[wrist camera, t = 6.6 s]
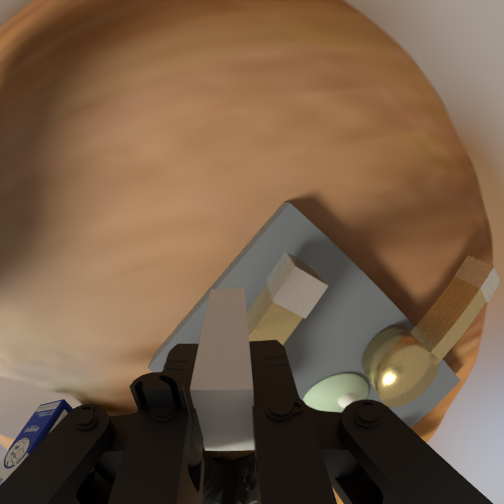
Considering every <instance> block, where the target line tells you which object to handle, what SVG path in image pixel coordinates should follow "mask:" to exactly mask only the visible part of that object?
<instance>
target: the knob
mask: <svg viewBox="0 0 504 504" xmlns="http://www.w3.org/2000/svg"><path fill="white" fill-rule="evenodd" d="M327 287H328V285H327V284H326V282H325V281H324V280H323V279H322V278H321V276H320V275H319V274H318V273H317V272H316V270H315V269H314V268H313V267H311V266H310V265H308V264H306V263H305V262H303V261H301V260H300V259H298V258H296V257H295V256H293V255H291V254H290V253H288V252H286V251H285V252H284V253H283V255H282V256H281V258H280V259H279V261H278V263H277V264H276V266H275V267H274V269H273V270H272V272H271V274H270V275H269V277H268V278H267V283H266V284H265V286H264V287H263V289H262V290H261V292H260V294H259V295H258V297H257V298H256V300H255V301H254V303H253V304H252V306H251V307H250V309H249V310H248V312H247V323H248V335H249V341H264V340H277V341H279V342H280V343H281V344H282V345H283V344H284V343H285V341H286V340H287V339H288V337H289V336H290V335H291V333H292V332H293V331H294V329H295V328H296V327H297V325H298V324H299V323H300V321H301V320H302V318H305V319H306V317H307V316H308V315H309V313H310V312H311V310H312V309H313V308H314V306H315V305H316V303H317V302H318V300H319V299H320V298H321V296H322V295H323V293H324V292H325V290H326V289H327Z"/></svg>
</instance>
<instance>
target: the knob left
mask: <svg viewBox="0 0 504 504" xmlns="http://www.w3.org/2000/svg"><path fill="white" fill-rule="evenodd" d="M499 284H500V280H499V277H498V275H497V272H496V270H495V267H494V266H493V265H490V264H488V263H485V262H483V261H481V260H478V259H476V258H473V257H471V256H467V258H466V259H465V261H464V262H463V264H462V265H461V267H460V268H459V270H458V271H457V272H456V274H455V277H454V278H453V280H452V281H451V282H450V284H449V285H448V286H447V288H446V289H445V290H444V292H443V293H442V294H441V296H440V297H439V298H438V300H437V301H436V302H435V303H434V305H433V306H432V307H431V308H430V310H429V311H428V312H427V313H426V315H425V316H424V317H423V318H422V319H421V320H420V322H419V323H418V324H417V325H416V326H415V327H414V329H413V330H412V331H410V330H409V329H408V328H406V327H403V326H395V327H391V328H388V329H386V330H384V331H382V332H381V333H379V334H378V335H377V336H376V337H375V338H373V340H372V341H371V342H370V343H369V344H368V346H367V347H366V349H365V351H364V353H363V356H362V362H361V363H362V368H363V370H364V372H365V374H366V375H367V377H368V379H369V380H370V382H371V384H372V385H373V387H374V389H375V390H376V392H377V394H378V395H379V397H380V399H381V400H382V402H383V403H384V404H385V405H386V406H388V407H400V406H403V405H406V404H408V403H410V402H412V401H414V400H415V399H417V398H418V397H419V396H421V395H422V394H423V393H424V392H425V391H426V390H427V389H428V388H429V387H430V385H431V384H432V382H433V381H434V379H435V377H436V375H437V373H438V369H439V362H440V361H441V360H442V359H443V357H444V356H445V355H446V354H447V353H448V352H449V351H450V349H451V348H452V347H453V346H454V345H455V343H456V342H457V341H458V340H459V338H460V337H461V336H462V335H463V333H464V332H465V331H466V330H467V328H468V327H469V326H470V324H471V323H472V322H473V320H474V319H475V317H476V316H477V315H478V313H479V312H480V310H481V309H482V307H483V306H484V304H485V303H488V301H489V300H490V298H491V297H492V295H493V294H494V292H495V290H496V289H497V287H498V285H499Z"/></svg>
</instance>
